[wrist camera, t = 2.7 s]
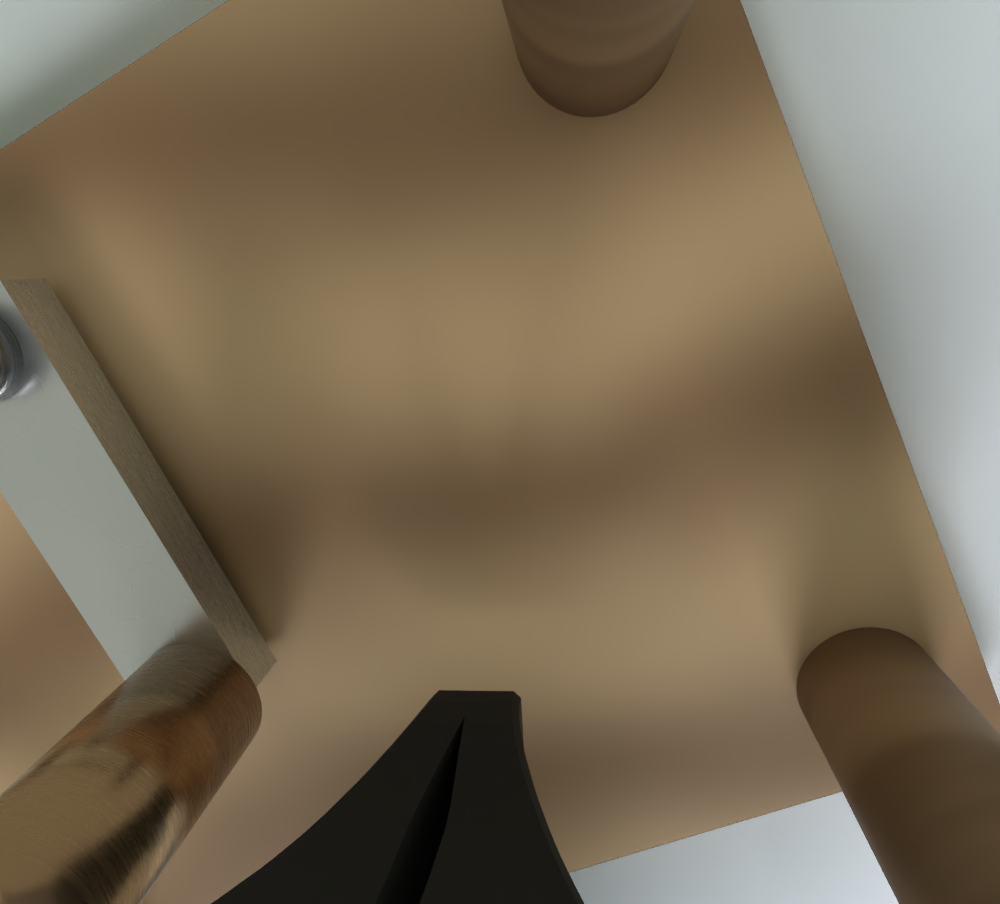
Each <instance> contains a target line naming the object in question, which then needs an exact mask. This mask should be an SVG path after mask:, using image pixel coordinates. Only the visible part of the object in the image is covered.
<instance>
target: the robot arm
mask: <svg viewBox="0 0 1000 904" xmlns="http://www.w3.org/2000/svg"><path fill="white" fill-rule="evenodd" d="M211 904H584V902H583V901H582V899H581V897H580V895H579V893H578V891H577V889H576V887H575V885H574V883H573V881H572V879H571V877H570V875H569V873H568V870H567V868H566V866H565V864H564V862H563V860H562V858H561V856H560V853H559V851H558V849H557V846H556V844H555V842H554V839H553V837H552V834H551V832H550V829H549V827H548V824H547V822H546V819H545V816H544V814H543V811H542V808H541V805H540V803H539V800H538V797H537V794H536V791H535V788H534V784H533V781H532V777H531V774H530V770H529V767H528V763H527V759H526V755H525V751H524V741H523V723H522V705H521V697H520V696H518V695H517V694H516V693H515V692H514V691H464V690H439V691H438V692H437V693H436V694H435V695H433V696H432V698H431V699H430V700H429V701H428V702H427V704H426V705H425V706H424V707H423V708H422V710H421V711H420V712H419V713H418V714H417V716H416V717H415V718H414V719H413V720H412V722H411V723H410V724H409V725H408V726H407V727H406V729H405V730H404V731H403V732H402V733H401V734H400V736H399V737H398V738H397V739H396V740H395V741H394V743H393V744H392V745H391V746H390V747H389V748H388V749H387V750H386V751H385V752H384V754H383V755H382V756H381V757H380V758H379V759H378V760H377V761H376V762H375V763H374V765H373V766H372V767H371V768H370V769H369V770H368V771H367V772H366V773H365V774H364V775H363V776H362V777H361V779H360V780H359V781H358V782H357V783H356V784H355V785H354V786H353V787H352V788H351V789H350V790H349V791H347V792H346V793H345V794H344V795H343V796H342V797H341V798H340V799H339V800H338V801H337V802H336V803H335V804H334V805H333V806H332V807H331V808H330V809H329V810H328V811H327V812H326V813H325V814H324V815H323V816H322V817H321V818H320V819H319V820H318V821H317V822H315V823H314V824H313V825H312V826H311V827H310V828H309V829H308V830H307V831H306V832H304V833H303V834H302V835H301V836H300V837H299V838H297V839H296V840H295V841H294V842H293V843H291V844H290V845H289V846H288V847H286V848H285V849H284V850H283V851H282V852H280V853H279V854H278V855H277V856H276V857H274V858H273V859H272V860H271V861H269V862H268V863H267V864H265V865H264V866H263V867H262V868H260V869H259V870H257V871H256V872H255V873H253V874H252V875H250V876H249V877H248V878H246V879H245V880H243V881H242V882H241V883H239V884H238V885H236V886H235V887H234V888H232V889H231V890H229V891H228V892H227V893H225V894H224V895H222V896H221V897H220V898H218V899H217V900H215V901H214V902H213V903H211Z"/></svg>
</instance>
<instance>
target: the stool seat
mask: <svg viewBox="0 0 1000 904" xmlns="http://www.w3.org/2000/svg"><path fill="white" fill-rule="evenodd" d="M15 279H47V281H48V282H49V284H50V286H51V287H52V289H53V291H54V292H55V294H56V296H57V297H58V299H59V301H60V302H61V304H62V306H63V307H64V309H65V311H66V312H67V314H68V316H69V317H70V319H71V321H72V322H73V324H74V325H75V327H76V329H77V330H78V332H79V334H80V335H81V337H82V339H83V340H84V342H85V344H86V345H87V347H88V349H89V350H90V352H91V354H92V355H93V357H94V359H95V360H96V362H97V364H98V365H99V367H100V369H101V370H102V372H103V374H104V375H105V377H106V379H107V380H108V382H109V384H110V385H111V387H112V388H113V390H114V392H115V393H116V395H117V397H118V398H119V400H120V402H121V403H122V405H123V407H124V408H125V410H126V412H127V413H128V415H129V417H130V418H131V420H132V422H133V423H134V425H135V427H136V428H137V430H138V432H139V433H140V435H141V437H142V438H143V440H144V442H145V443H146V445H147V447H148V448H149V450H150V452H151V453H152V455H153V456H154V458H155V460H156V461H157V463H158V465H159V466H160V468H161V470H162V471H163V473H164V475H165V476H166V478H167V480H168V481H169V483H170V485H171V486H172V488H173V490H174V491H175V493H176V495H177V496H178V498H179V500H180V501H181V503H182V505H183V506H184V508H185V510H186V511H187V513H188V515H189V516H190V518H191V519H192V521H193V523H194V524H195V526H196V528H197V529H198V531H199V533H200V534H201V536H202V538H203V539H204V541H205V543H206V544H207V546H208V548H209V549H210V551H211V553H212V554H213V556H214V558H215V559H216V561H217V563H218V564H219V566H220V568H221V569H222V571H223V573H224V574H225V576H226V578H227V579H228V581H229V583H230V584H231V586H232V587H233V589H234V591H235V592H236V594H237V596H238V597H239V599H240V601H241V602H242V604H243V606H244V607H245V609H246V611H247V612H248V614H249V616H250V617H251V619H252V621H253V622H254V624H255V626H256V627H257V629H258V631H259V632H260V634H261V636H262V637H263V639H264V641H265V642H266V644H267V646H268V647H269V649H270V650H271V652H272V654H273V655H274V657H275V659H276V660H277V661H276V663H275V664H274V665H273V667H272V668H271V669H270V671H269V672H268V673H267V675H266V676H265V677H264V679H263V680H262V681H261V683H260V684H259V685H258V686H257V690H258V693H259V695H260V699H261V705H262V719H261V724H260V727H259V730H258V732H257V734H256V735H255V737H254V739H253V740H252V742H251V743H250V745H249V746H248V748H247V749H246V750H245V752H244V753H243V755H242V756H241V758H240V759H239V761H238V762H237V764H236V765H235V767H234V768H233V769H232V771H231V772H230V774H229V775H228V777H227V778H226V780H225V781H224V783H223V784H222V786H221V787H220V788H219V790H218V791H217V793H216V794H215V796H214V797H213V799H212V800H211V802H210V803H209V805H208V806H207V808H206V809H205V810H204V812H203V813H202V815H201V816H200V818H199V819H198V821H197V822H196V824H195V825H194V827H193V828H192V829H191V831H190V832H189V834H188V835H187V837H186V838H185V840H184V841H183V843H182V844H181V846H180V847H179V848H178V850H177V851H176V853H175V854H174V856H173V857H172V859H171V860H170V862H169V863H168V865H167V866H166V868H165V869H164V870H163V872H162V873H161V875H160V876H159V878H158V879H157V881H156V882H155V884H154V885H153V887H152V888H151V889H150V891H149V892H148V894H147V895H146V897H145V898H144V900H143V901H142V903H141V904H211V903H213V902H214V901H215V900H217V899H218V898H220V897H221V896H222V895H224V894H225V893H227V892H228V891H229V890H231V889H232V888H234V887H235V886H236V885H238V884H239V883H241V882H242V881H243V880H245V879H246V878H248V877H249V876H250V875H252V874H253V873H255V872H256V871H257V870H259V869H260V868H262V867H263V866H264V865H265V864H267V863H268V862H269V861H271V860H272V859H273V858H274V857H276V856H277V855H278V854H279V853H280V852H282V851H283V850H284V849H285V848H286V847H288V846H289V845H290V844H291V843H293V842H294V841H295V840H296V839H297V838H299V837H300V836H301V835H302V834H303V833H304V832H306V831H307V830H308V829H309V828H310V827H311V826H312V825H313V824H314V823H315V822H317V821H318V820H319V819H320V818H321V817H322V816H323V815H324V814H325V813H326V812H327V811H328V810H329V809H330V808H331V807H332V806H333V805H334V804H335V803H336V802H337V801H338V800H339V799H340V798H341V797H342V796H343V795H344V794H345V793H346V792H347V791H349V790H350V789H351V788H352V787H353V786H354V785H355V784H356V783H357V782H358V781H359V780H360V779H361V777H362V776H363V775H364V774H365V773H366V772H367V771H368V770H369V769H370V768H371V767H372V766H373V765H374V763H375V762H376V761H377V760H378V759H379V758H380V757H381V756H382V755H383V754H384V752H385V751H386V750H387V749H388V748H389V747H390V746H391V745H392V744H393V743H394V741H395V740H396V739H397V738H398V737H399V736H400V734H401V733H402V732H403V731H404V730H405V729H406V727H407V726H408V725H409V724H410V723H411V722H412V720H413V719H414V718H415V717H416V716H417V714H418V713H419V712H420V711H421V710H422V708H423V707H424V706H425V705H426V704H427V702H428V701H429V700H430V699H431V698H432V696H433V695H435V694H436V693H437V692H438V691H439V690H464V691H514V692H515V693H516V694H517V695H518V696H520V697H521V705H522V723H523V741H524V751H525V755H526V759H527V763H528V767H529V770H530V774H531V777H532V781H533V784H534V788H535V791H536V794H537V797H538V800H539V803H540V805H541V808H542V811H543V814H544V816H545V819H546V822H547V824H548V827H549V829H550V832H551V834H552V837H553V839H554V842H555V844H556V846H557V849H558V851H559V853H560V856H561V858H562V860H563V862H564V864H565V866H566V868H567V870H568V873H570V872H573V871H576V870H580V869H583V868H586V867H590V866H593V865H596V864H600V863H603V862H607V861H610V860H613V859H617V858H620V857H623V856H627V855H630V854H633V853H637V852H640V851H643V850H647V849H650V848H654V847H657V846H660V845H664V844H667V843H670V842H674V841H677V840H680V839H684V838H687V837H691V836H694V835H697V834H701V833H704V832H707V831H711V830H714V829H717V828H721V827H724V826H727V825H731V824H734V823H738V822H741V821H744V820H748V819H751V818H754V817H758V816H761V815H764V814H768V813H771V812H774V811H778V810H781V809H785V808H788V807H791V806H795V805H798V804H801V803H805V802H808V801H811V800H815V799H818V798H822V797H825V796H828V795H832V794H835V793H838V792H842V791H843V793H844V795H845V797H846V799H847V801H848V803H849V805H850V807H851V809H852V811H853V813H854V815H855V817H856V819H857V821H858V823H859V825H860V827H861V829H862V831H863V833H864V835H865V837H866V839H867V841H868V843H869V845H870V847H871V849H872V851H873V853H874V855H875V857H876V859H877V861H878V863H879V865H880V867H881V869H882V871H883V873H884V875H885V877H886V879H887V881H888V883H889V885H890V887H891V888H892V890H893V892H894V894H895V896H896V898H897V900H898V902H899V904H1000V704H999V701H998V698H997V696H996V693H995V690H994V687H993V685H992V682H991V679H990V677H989V674H988V671H987V668H986V666H985V663H984V660H983V658H982V655H981V652H980V650H979V647H978V644H977V641H976V639H975V636H974V633H973V631H972V628H971V625H970V622H969V620H968V617H967V614H966V612H965V609H964V606H963V603H962V601H961V598H960V595H959V593H958V590H957V587H956V584H955V582H954V579H953V576H952V574H951V571H950V568H949V565H948V563H947V560H946V557H945V555H944V552H943V549H942V546H941V544H940V541H939V538H938V536H937V533H936V530H935V527H934V525H933V522H932V519H931V517H930V514H929V511H928V508H927V506H926V503H925V500H924V498H923V495H922V492H921V490H920V487H919V484H918V481H917V479H916V476H915V473H914V471H913V468H912V465H911V462H910V460H909V457H908V454H907V452H906V449H905V446H904V443H903V441H902V438H901V435H900V433H899V430H898V427H897V424H896V422H895V419H894V416H893V414H892V411H891V408H890V405H889V403H888V400H887V397H886V395H885V392H884V389H883V386H882V384H881V381H880V378H879V376H878V373H877V370H876V367H875V365H874V362H873V359H872V357H871V354H870V351H869V348H868V346H867V343H866V340H865V338H864V335H863V332H862V329H861V327H860V324H859V321H858V319H857V316H856V313H855V311H854V308H853V305H852V302H851V300H850V297H849V294H848V292H847V289H846V286H845V283H844V281H843V278H842V275H841V273H840V270H839V267H838V264H837V262H836V259H835V256H834V254H833V251H832V248H831V245H830V243H829V240H828V237H827V235H826V232H825V229H824V226H823V224H822V221H821V218H820V216H819V213H818V210H817V207H816V205H815V202H814V199H813V197H812V194H811V191H810V188H809V186H808V183H807V180H806V178H805V175H804V172H803V169H802V167H801V164H800V161H799V159H798V156H797V153H796V151H795V148H794V145H793V142H792V140H791V137H790V134H789V132H788V129H787V126H786V123H785V121H784V118H783V115H782V113H781V110H780V107H779V104H778V102H777V99H776V96H775V94H774V91H773V88H772V85H771V83H770V80H769V77H768V75H767V72H766V69H765V66H764V64H763V61H762V58H761V56H760V53H759V50H758V47H757V45H756V42H755V39H754V37H753V34H752V31H751V28H750V26H749V23H748V20H747V18H746V15H745V12H744V9H743V7H742V4H741V1H740V0H228V1H227V2H225V3H224V4H222V5H221V6H219V7H218V8H216V9H215V10H213V11H211V12H210V13H208V14H207V15H205V16H204V17H202V18H201V19H199V20H198V21H196V22H195V23H193V24H192V25H190V26H189V27H187V28H186V29H184V30H183V31H181V32H179V33H178V34H176V35H175V36H173V37H172V38H170V39H169V40H167V41H166V42H164V43H163V44H161V45H160V46H158V47H157V48H155V49H154V50H152V51H150V52H149V53H147V54H146V55H144V56H143V57H141V58H140V59H138V60H137V61H135V62H134V63H132V64H131V65H129V66H128V67H126V68H125V69H123V70H121V71H120V72H118V73H117V74H115V75H114V76H112V77H111V78H109V79H108V80H106V81H105V82H103V83H102V84H100V85H99V86H97V87H96V88H94V89H93V90H91V91H89V92H88V93H86V94H85V95H83V96H82V97H80V98H79V99H77V100H76V101H74V102H73V103H71V104H70V105H68V106H67V107H65V108H64V109H62V110H60V111H59V112H57V113H56V114H54V115H53V116H51V117H50V118H48V119H47V120H45V121H44V122H42V123H41V124H39V125H38V126H36V127H35V128H33V129H31V130H30V131H28V132H27V133H25V134H24V135H22V136H21V137H19V138H18V139H16V140H15V141H13V142H12V143H10V144H9V145H7V146H6V147H4V148H3V149H1V150H0V280H15ZM124 681H125V680H124V679H123V677H122V676H121V674H120V673H119V671H118V670H117V668H116V667H115V665H114V664H113V662H112V660H111V659H110V657H109V656H108V654H107V653H106V651H105V650H104V648H103V647H102V645H101V644H100V642H99V641H98V639H97V638H96V636H95V635H94V633H93V632H92V630H91V629H90V627H89V626H88V624H87V622H86V621H85V619H84V618H83V616H82V615H81V613H80V612H79V610H78V609H77V607H76V606H75V604H74V603H73V601H72V600H71V598H70V597H69V595H68V594H67V592H66V591H65V589H64V588H63V586H62V584H61V583H60V581H59V580H58V578H57V577H56V575H55V574H54V572H53V571H52V569H51V568H50V566H49V565H48V563H47V562H46V560H45V559H44V557H43V556H42V554H41V553H40V551H39V550H38V548H37V546H36V545H35V543H34V542H33V540H32V539H31V537H30V536H29V534H28V533H27V531H26V530H25V528H24V527H23V525H22V524H21V522H20V521H19V519H18V518H17V516H16V515H15V513H14V512H13V510H12V508H11V507H10V505H9V504H8V502H7V501H6V499H5V498H4V496H3V495H2V493H1V492H0V795H1V794H2V793H3V792H4V791H5V790H6V789H7V788H8V787H9V786H10V785H12V784H13V783H14V782H15V781H16V780H17V779H18V778H19V777H20V776H21V775H22V774H24V773H25V772H26V771H27V770H28V769H29V768H30V767H31V766H32V765H33V764H34V763H36V762H37V761H38V760H39V759H40V758H41V757H42V756H43V755H44V754H45V753H46V752H48V751H49V750H50V749H51V748H52V747H53V746H54V745H55V744H56V743H57V742H58V741H59V740H61V739H62V738H63V737H64V736H65V735H66V734H67V733H68V732H69V731H70V730H71V729H73V728H74V727H75V726H76V725H77V724H78V723H79V722H80V721H81V720H82V719H83V718H85V717H86V716H87V715H88V714H89V713H90V712H91V711H92V710H93V709H94V708H95V707H97V706H98V705H99V704H100V703H101V702H102V701H103V700H104V699H105V698H106V697H107V696H108V695H110V694H111V693H112V692H113V691H114V690H115V689H116V688H117V687H118V686H119V685H120V684H122V683H123V682H124Z"/></svg>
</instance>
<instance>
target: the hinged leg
mask: <svg viewBox="0 0 1000 904" xmlns="http://www.w3.org/2000/svg"><path fill="white" fill-rule="evenodd" d="M0 492H1V493H2V495H3V496H4V498H5V499H6V501H7V502H8V504H9V505H10V507H11V508H12V510H13V512H14V513H15V515H16V516H17V518H18V519H19V521H20V522H21V524H22V525H23V527H24V528H25V530H26V531H27V533H28V534H29V536H30V537H31V539H32V540H33V542H34V543H35V545H36V546H37V548H38V550H39V551H40V553H41V554H42V556H43V557H44V559H45V560H46V562H47V563H48V565H49V566H50V568H51V569H52V571H53V572H54V574H55V575H56V577H57V578H58V580H59V581H60V583H61V584H62V586H63V588H64V589H65V591H66V592H67V594H68V595H69V597H70V598H71V600H72V601H73V603H74V604H75V606H76V607H77V609H78V610H79V612H80V613H81V615H82V616H83V618H84V619H85V621H86V622H87V624H88V626H89V627H90V629H91V630H92V632H93V633H94V635H95V636H96V638H97V639H98V641H99V642H100V644H101V645H102V647H103V648H104V650H105V651H106V653H107V654H108V656H109V657H110V659H111V660H112V662H113V664H114V665H115V667H116V668H117V670H118V671H119V673H120V674H121V676H122V677H123V679H124V680H125V681H124V682H123V683H122V684H120V685H119V686H118V687H117V688H116V689H115V690H114V691H113V692H112V693H111V694H110V695H108V696H107V697H106V698H105V699H104V700H103V701H102V702H101V703H100V704H99V705H98V706H97V707H95V708H94V709H93V710H92V711H91V712H90V713H89V714H88V715H87V716H86V717H85V718H83V719H82V720H81V721H80V722H79V723H78V724H77V725H76V726H75V727H74V728H73V729H71V730H70V731H69V732H68V733H67V734H66V735H65V736H64V737H63V738H62V739H61V740H59V741H58V742H57V743H56V744H55V745H54V746H53V747H52V748H51V749H50V750H49V751H48V752H46V753H45V754H44V755H43V756H42V757H41V758H40V759H39V760H38V761H37V762H36V763H34V764H33V765H32V766H31V767H30V768H29V769H28V770H27V771H26V772H25V773H24V774H22V775H21V776H20V777H19V778H18V779H17V780H16V781H15V782H14V783H13V784H12V785H10V786H9V787H8V788H7V789H6V790H5V791H4V792H3V793H2V794H1V795H0V904H141V903H142V901H143V900H144V898H145V897H146V895H147V894H148V892H149V891H150V889H151V888H152V887H153V885H154V884H155V882H156V881H157V879H158V878H159V876H160V875H161V873H162V872H163V870H164V869H165V868H166V866H167V865H168V863H169V862H170V860H171V859H172V857H173V856H174V854H175V853H176V851H177V850H178V848H179V847H180V846H181V844H182V843H183V841H184V840H185V838H186V837H187V835H188V834H189V832H190V831H191V829H192V828H193V827H194V825H195V824H196V822H197V821H198V819H199V818H200V816H201V815H202V813H203V812H204V810H205V809H206V808H207V806H208V805H209V803H210V802H211V800H212V799H213V797H214V796H215V794H216V793H217V791H218V790H219V788H220V787H221V786H222V784H223V783H224V781H225V780H226V778H227V777H228V775H229V774H230V772H231V771H232V769H233V768H234V767H235V765H236V764H237V762H238V761H239V759H240V758H241V756H242V755H243V753H244V752H245V750H246V749H247V748H248V746H249V745H250V743H251V742H252V740H253V739H254V737H255V735H256V734H257V732H258V730H259V727H260V724H261V719H262V705H261V699H260V695H259V693H258V690H257V686H258V685H259V684H260V683H261V681H262V680H263V679H264V677H265V676H266V675H267V673H268V672H269V671H270V669H271V668H272V667H273V665H274V664H275V663H276V661H277V660H276V659H275V657H274V655H273V654H272V652H271V650H270V649H269V647H268V646H267V644H266V642H265V641H264V639H263V637H262V636H261V634H260V632H259V631H258V629H257V627H256V626H255V624H254V622H253V621H252V619H251V617H250V616H249V614H248V612H247V611H246V609H245V607H244V606H243V604H242V602H241V601H240V599H239V597H238V596H237V594H236V592H235V591H234V589H233V587H232V586H231V584H230V583H229V581H228V579H227V578H226V576H225V574H224V573H223V571H222V569H221V568H220V566H219V564H218V563H217V561H216V559H215V558H214V556H213V554H212V553H211V551H210V549H209V548H208V546H207V544H206V543H205V541H204V539H203V538H202V536H201V534H200V533H199V531H198V529H197V528H196V526H195V524H194V523H193V521H192V519H191V518H190V516H189V515H188V513H187V511H186V510H185V508H184V506H183V505H182V503H181V501H180V500H179V498H178V496H177V495H176V493H175V491H174V490H173V488H172V486H171V485H170V483H169V481H168V480H167V478H166V476H165V475H164V473H163V471H162V470H161V468H160V466H159V465H158V463H157V461H156V460H155V458H154V456H153V455H152V453H151V452H150V450H149V448H148V447H147V445H146V443H145V442H144V440H143V438H142V437H141V435H140V433H139V432H138V430H137V428H136V427H135V425H134V423H133V422H132V420H131V418H130V417H129V415H128V413H127V412H126V410H125V408H124V407H123V405H122V403H121V402H120V400H119V398H118V397H117V395H116V393H115V392H114V390H113V388H112V387H111V385H110V384H109V382H108V380H107V379H106V377H105V375H104V374H103V372H102V370H101V369H100V367H99V365H98V364H97V362H96V360H95V359H94V357H93V355H92V354H91V352H90V350H89V349H88V347H87V345H86V344H85V342H84V340H83V339H82V337H81V335H80V334H79V332H78V330H77V329H76V327H75V325H74V324H73V322H72V321H71V319H70V317H69V316H68V314H67V312H66V311H65V309H64V307H63V306H62V304H61V302H60V301H59V299H58V297H57V296H56V294H55V292H54V291H53V289H52V287H51V286H50V284H49V282H48V281H47V279H15V280H0Z"/></svg>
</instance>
